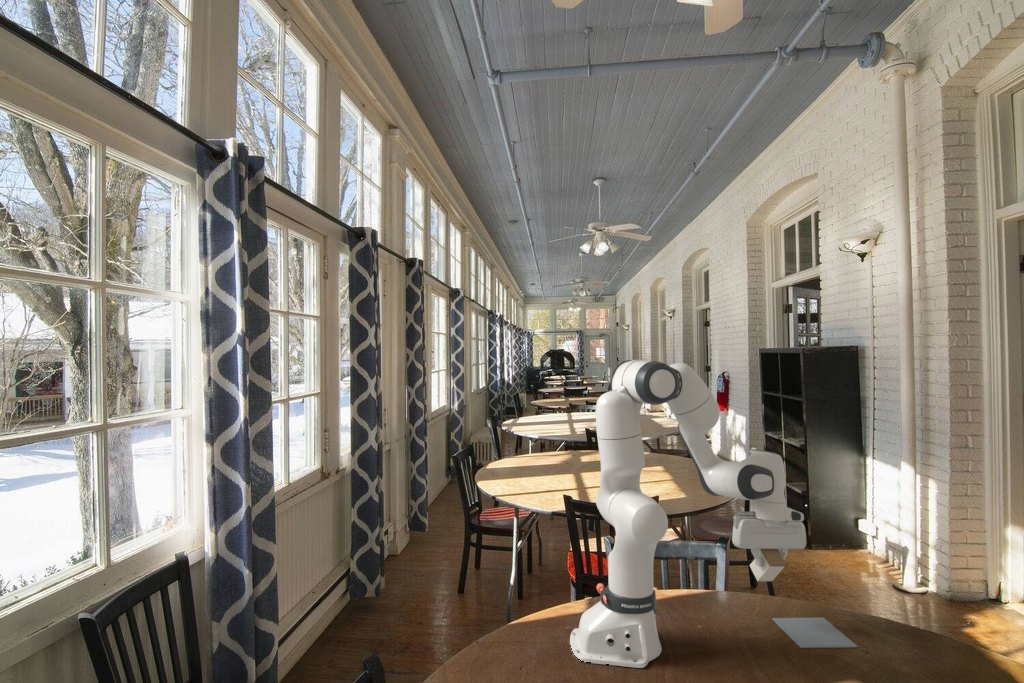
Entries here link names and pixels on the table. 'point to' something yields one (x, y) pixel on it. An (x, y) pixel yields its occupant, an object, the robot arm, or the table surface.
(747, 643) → the table surface
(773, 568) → the cream block
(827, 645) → the slate mat
